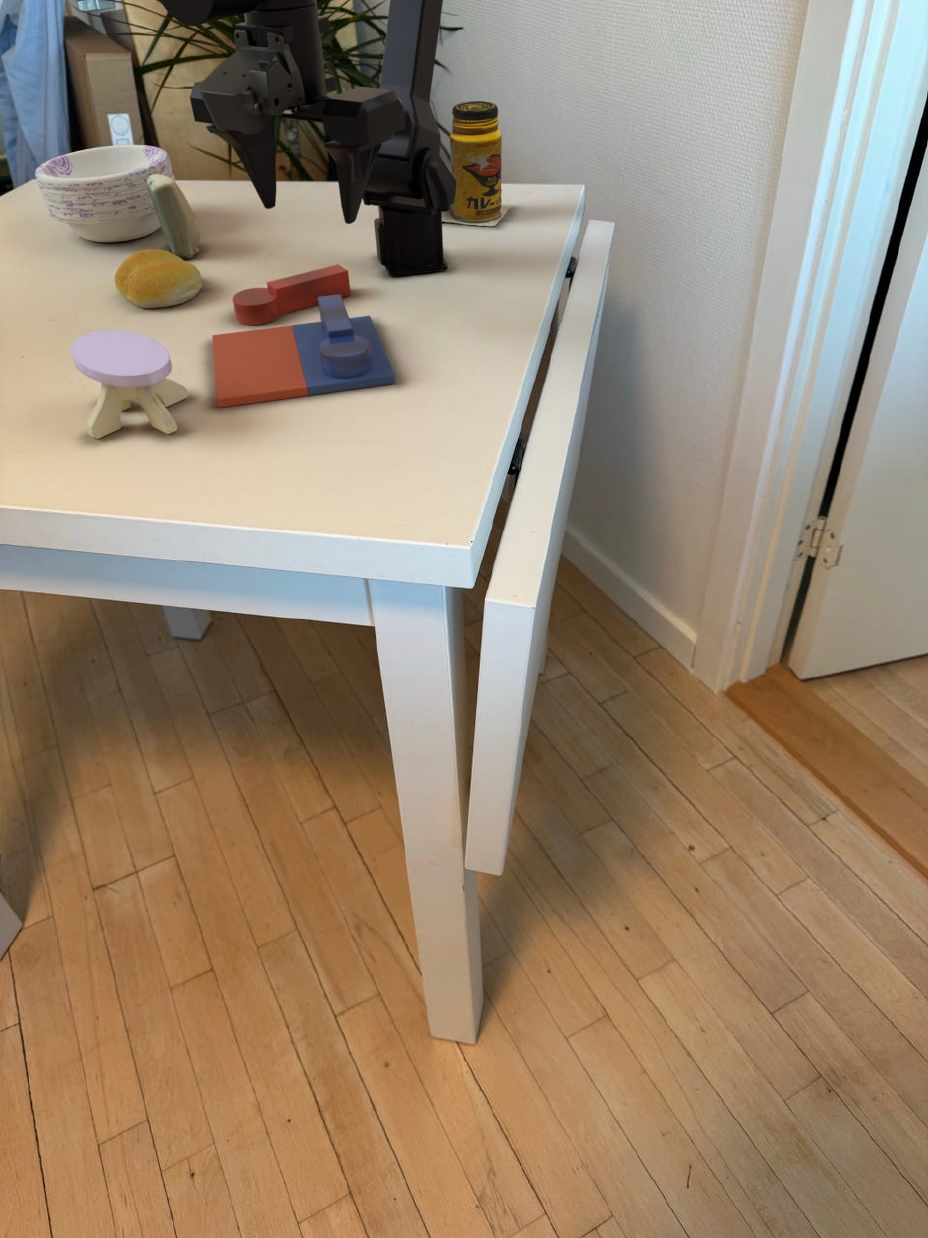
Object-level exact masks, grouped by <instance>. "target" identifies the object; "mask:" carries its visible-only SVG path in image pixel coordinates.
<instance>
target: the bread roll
mask: <svg viewBox="0 0 928 1238" xmlns="http://www.w3.org/2000/svg"><path fill="white" fill-rule="evenodd" d="M202 279H203V278H202V274H201V271H200V270H199V268H198V267H197V266H196V265H194V264H193V263H192V262H188V261H185V259H184V260H182V259H181V258H180V257H178V256H176V255H174V254H172V252H171V251H168V250H165V249H154V248H152V249H151V248H150V249H149V248H148V249H144V250H139V251H136V252H133V253H132V254H130V255H129V256H128V257H126V258H125V259H124V260H123V262H122V263H121V264H120V265H119V267H118V268H117V270H116V272H115V274H114V285H115V288H116V290H117V291H118V292H119V294H120V295H122V296H123V298H125V299H127V300H128V301H130V302H131V303H132V304H133V305H135V306H136V307H139V308H142V309H155V308H157V309H158V308H169V307H173V306H179V305H180V304H184V303H186V302H188V301H191V299H193V298H194V297H195V296H197V294H198V293H199V292H200V290H201V289H202V288H203V280H202Z"/></svg>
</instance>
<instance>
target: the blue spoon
mask: <svg viewBox="0 0 928 1238" xmlns="http://www.w3.org/2000/svg"><path fill="white" fill-rule="evenodd" d="M317 306H318V312H319V320H320V322H321V325H322V328H323V331H324V335H325V338H326V340H324V341H323V342H322V343H321V344H320V345H319V353H320V360H321V367H322V371H323V373H324V374H325V375H327V376H329V377H333V378H338V379H348V378H355V377H359V376H362V375H364V374H366V373H367V372H369V371H370V370H371V368H372V356H371V347H370V342H369V341H368V340H367V339H366V338H364V337H362V336H358V335H354V331H353V327H352V324H351V321H350V319H349V318H350V316H349V314H348V313H349V312H348V311H347V308H346V305H345V303H344V299H343V298H342V297H341V295H340V294H339V295H330V296H322V297H318V305H317Z"/></svg>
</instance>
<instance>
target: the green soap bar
mask: <svg viewBox="0 0 928 1238" xmlns="http://www.w3.org/2000/svg"><path fill="white" fill-rule="evenodd" d="M147 189H148V192H149V195H150V198H151V200H152V202H153V205H154V208H155V211H156V214H157V216H158V219H159V222H160V225H161V227H160V228H161V231H162V233H163V236H164V238H165V241H166V243H167V246H168V249H169V252H170V253H172V254H174V255H176V256H178V257H180V258H181V259H182V260H184V261H185V260H189V259H193V258H194V257H195V255H196V254H198V253H199V252H200V248H199V247H198V244H199V242H200V239H201V234H202V233H201V226H200V222H199V220H198V219H197V217H196V216H195V214H194V211H193V209H192V207H191V204H190V203H189V201H188V199H187V198H186V196H185V194H184V193H183V190H182V189H181V188H180V187H179V185H178V184H177V182H176V180H175V181H174V180H173V179H171V178H170V177H167V176H164V175H160V174H154V175H151V176H150V177H149V178H148V179H147Z"/></svg>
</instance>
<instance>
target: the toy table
mask: <svg viewBox="0 0 928 1238" xmlns="http://www.w3.org/2000/svg"><path fill="white" fill-rule="evenodd" d="M70 354H71V358H72V360H73V363H74V366H75V368H76V369H77V370H78V371H79V372H80V373H81V374H82V375H84V376H85V377H87V378H89V379H90V380H93V381H96V382H98V383H101V387H100V393H99V396H98V398H97V402H96V404H95V407H94V408H93V410H92V412H91V415H90V416H89V418H88V420H87V423H86V428H87V429H86V430H87V432H88V434H89V436H91V437H92V438H94V439H96V440H99V439H101V438H103V437H105V436H108V435H109V434H111V433H115V432H116V431H118V430H120V429H122V427H123V426H122V422H121V413H122V412H123V411H126V410H128V409H131V408H132V404H131V401H132V400H136V401H137V402H138V404H139V405H140V406H141V407H142V409H143V411H144V413H145V414H146V417H147V419H148V421H149V424H150V426H151V427H152V428H155V429H157V430H158V431H161V432H162V433H164V434H166V435H170V434H173V433H174V432H176V431H177V430H178V425H177V422H176V421H175V419H174V417H173V416H172V414H171V412H169V410H168V409H167V408H168V407H170V406H172V405H174V404H176V403H179V402H181V401H183V400H185V399H187V398H188V397H189V391H188V389H187V388H186V387H185V386H184V385H182V384H180V383H179V382H176V381H174V380H172V379H169V378H167V377H169V376H170V374H171V373H172V370H173V363H172V359H171V355H170V352H169V350H168V348H167V347H166V346H165V345H164V344H163V343H161V341H159V340H157V339H155V338H153V337H151V336H148V335H145V334H142V333H139V332H134V331H128V330H121V329H106V330H105V329H104V330H98V331H92V332H90V333H86V334H84V335H82V336H80V337H78V338H77V339H75V340H74V341H73V343H72V344H71V346H70ZM130 400H131V401H130Z"/></svg>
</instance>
